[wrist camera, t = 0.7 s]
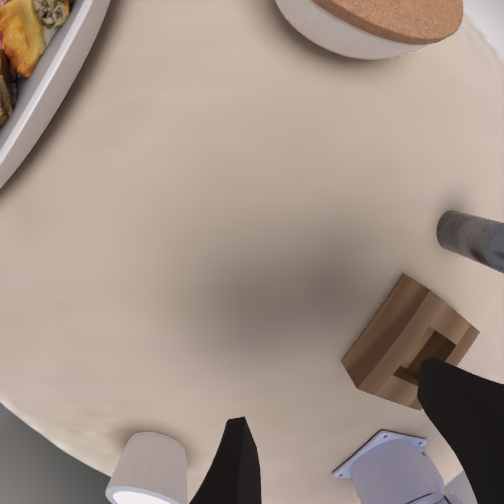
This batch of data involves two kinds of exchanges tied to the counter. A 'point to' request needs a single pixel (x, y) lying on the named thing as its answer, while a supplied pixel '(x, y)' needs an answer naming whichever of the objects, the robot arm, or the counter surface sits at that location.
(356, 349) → the socket block
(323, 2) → the lidded jar
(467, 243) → the pin
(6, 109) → the bowl
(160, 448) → the shot glass
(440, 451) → the counter surface
